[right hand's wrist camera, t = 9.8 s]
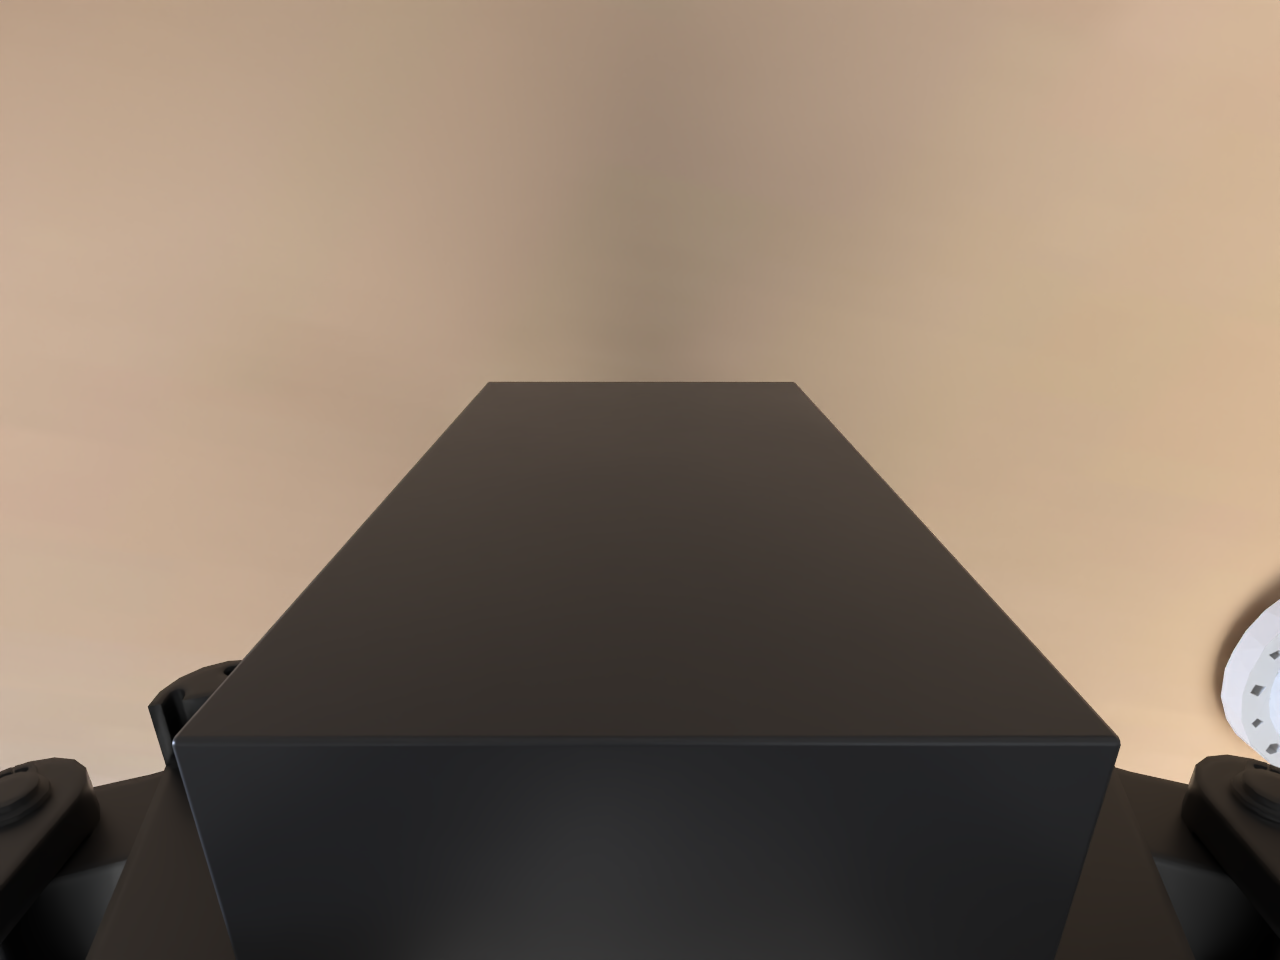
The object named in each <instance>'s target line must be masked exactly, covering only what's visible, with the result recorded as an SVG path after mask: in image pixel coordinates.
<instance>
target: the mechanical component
mask: <svg viewBox="0 0 1280 960" xmlns="http://www.w3.org/2000/svg"><path fill="white" fill-rule="evenodd" d="M1221 699H1222V703H1223V707H1224V711H1225V715H1226V719H1227V721H1228V722H1229V724H1230V726H1231V727H1232V729H1233V730H1234V732H1235V734H1236V735H1238V736H1239V737H1240V738H1241V739H1242V740H1243V741H1244V742H1246V743H1247V744H1248V745H1249V746H1250V747H1251V748H1253V749H1254V750H1255V751H1256V752H1257V753H1258V754H1260V755H1261V756H1262V757H1263V758H1264V759H1265V760H1267V761H1268V762H1269V763H1270V764H1271V765H1274V766H1276V767H1279V768H1280V599H1279V600H1278V601H1277V602H1275V603H1274V604H1273V605H1271V606H1270V607H1269V608H1267V609H1266V610H1265V611H1264V612H1263V613H1262V614H1261V615H1260V616H1259V617H1258V618H1257V619H1256V620H1255V622H1254V623H1253V624H1252V625H1251V626H1250V627H1249V628H1248V629H1247V630H1246V631H1245V633H1244V635H1243V636H1242V638H1241V639H1240V641H1239V643H1238V644H1237V646H1236V647H1235V649H1234V651H1233V653H1232V655H1231V657H1230V659H1229V661H1228V663H1227V665H1226V668H1225V672H1224V679H1223V686H1222V692H1221Z"/></svg>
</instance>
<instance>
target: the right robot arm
mask: <svg viewBox="0 0 1280 960" xmlns="http://www.w3.org/2000/svg"><path fill="white" fill-rule="evenodd" d="M241 661H242V660H237V661H227V662H223V663H219V664H215V665H211V666H207V667H203V668H201V669H199V670H197V671H194V672H192V673H190V674H188V675H185V676H183V677H181V678H179V679H178V680H176V681H175V682H173V683H172V684H170V685H169V686H167V687H166V688H165V689H163V690H162V691H160V692H159V694H158V695H157V696H156V697H155V698H154V700H153V701H152V702H151V703H150V705H149V706H148V709H149V712H150V715H151V718H152V722H153V725H154V728H155V731H156V735H157V738H158V741H159V744H160V747H161V751H162V754H163V757H164V760H165V764H166V767H165V770H164V771H161V772H158V773H154V774H151V775H146V776H142V777H137V778H133V779H128V780H124V781H119V782H115V783H110V784H106V785H101V786H97V787H93V786H92V783H91V780H90V778H89V775H88V772H87V769H86V767H84V766H83V765H81V764H80V763H79V762H77V761H76V760H74V759H64V758H49V759H43V760H37V761H31V762H27V763H24V764H20V765H17V766H15V767H11V768H8V769H6V770H3V771H1V772H0V960H236V958H235V955H234V951H233V948H232V945H231V941H230V938H229V935H228V931H227V928H226V925H225V921H224V918H223V915H222V911H221V908H220V905H219V901H218V898H217V894H216V891H215V888H214V884H213V881H212V878H211V874H210V871H209V868H208V864H207V861H206V858H205V854H204V851H203V848H202V844H201V841H200V837H199V834H198V831H197V827H196V824H195V821H194V817H193V814H192V811H191V807H190V804H189V801H188V797H187V794H186V791H185V787H184V784H183V780H182V777H181V774H180V770H179V767H178V764H177V760H176V757H175V754H174V750H173V747H172V742H173V739H174V737H175V736H176V735H177V733H178V732H179V731H180V730H181V729H182V728H183V727H184V725H185V724H186V723H187V722H188V721H189V720H190V719H191V718H192V716H193V715H194V714H195V713H196V712H197V711H198V710H199V709H200V707H201V706H202V705H203V704H204V703H205V702H206V701H207V699H208V698H209V697H210V696H211V695H212V694H213V693H214V692H215V690H216V689H217V688H218V687H219V686H220V685H221V684H222V683H223V681H224V680H225V679H226V678H227V677H228V676H229V675H230V674H231V672H232V671H233V670H234V669H235V668H236V667H237V666H238V664H239V663H240V662H241ZM1055 960H1280V768H1279V767H1276V766H1274V765H1271V764H1270V765H1269V764H1267V763H1265V762H1261V761H1258V760H1255V759H1250V758H1244V757H1238V756H1232V755H1219V756H1209V757H1206V758H1205V759H1203V760H1202V761H1200V762H1199V763H1198V764H1196V766H1195V768H1194V771H1193V774H1192V777H1191V779H1190V782H1189V785H1188V784H1184V783H1179V782H1174V781H1170V780H1165V779H1161V778H1156V777H1152V776H1147V775H1143V774H1138V773H1134V772H1129V771H1126V770H1122V769H1119V768H1115V766H1114V768H1113V772H1112V775H1111V778H1110V781H1109V785H1108V788H1107V791H1106V794H1105V798H1104V801H1103V804H1102V807H1101V811H1100V814H1099V817H1098V820H1097V823H1096V827H1095V830H1094V833H1093V836H1092V840H1091V843H1090V846H1089V849H1088V853H1087V856H1086V859H1085V862H1084V866H1083V869H1082V872H1081V875H1080V879H1079V882H1078V885H1077V888H1076V892H1075V895H1074V898H1073V901H1072V905H1071V908H1070V911H1069V914H1068V918H1067V921H1066V924H1065V927H1064V931H1063V934H1062V937H1061V940H1060V943H1059V947H1058V950H1057V953H1056V956H1055Z"/></svg>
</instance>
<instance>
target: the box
mask: <svg viewBox="0 0 1280 960" xmlns="http://www.w3.org/2000/svg"><path fill="white" fill-rule="evenodd" d="M1120 746H1121V744H1120V740H1119V737H1118V736H1117V735H1116V734H1115V733H1114V731H1113V730H1112V729H1111V728H1110V727H1109V726H1108V725H1107V724H1106V723H1105V722H1104V721H1103V719H1102V718H1101V717H1100V716H1099V715H1098V714H1097V713H1096V712H1095V711H1094V710H1093V708H1092V707H1091V706H1090V705H1089V704H1088V703H1087V702H1086V701H1085V700H1084V699H1083V698H1082V696H1081V695H1080V694H1079V693H1078V692H1077V691H1076V690H1075V689H1074V688H1073V687H1072V686H1071V684H1070V683H1069V682H1068V681H1067V680H1066V679H1065V678H1064V677H1063V676H1062V675H1061V673H1060V672H1059V671H1058V670H1057V669H1056V668H1055V667H1054V666H1053V665H1052V664H1051V663H1050V661H1049V660H1048V659H1047V658H1046V657H1045V656H1044V655H1043V654H1042V653H1041V652H1040V650H1039V649H1038V648H1037V647H1036V646H1035V645H1034V644H1033V643H1032V642H1031V641H1030V640H1029V638H1028V637H1027V636H1026V635H1025V634H1024V633H1023V632H1022V631H1021V630H1020V629H1019V627H1018V626H1017V625H1016V624H1015V623H1014V622H1013V621H1012V620H1011V619H1010V618H1009V617H1008V615H1007V614H1006V613H1005V612H1004V611H1003V610H1002V609H1001V608H1000V607H999V606H998V605H997V603H996V602H995V601H994V600H993V599H992V598H991V597H990V596H989V595H988V594H987V592H986V591H985V590H984V589H983V588H982V587H981V586H980V585H979V584H978V583H977V582H976V580H975V579H974V578H973V577H972V576H971V575H970V574H969V573H968V572H967V571H966V569H965V568H964V567H963V566H962V565H961V564H960V563H959V562H958V561H957V560H956V559H955V557H954V556H953V555H952V554H951V553H950V552H949V551H948V550H947V549H946V548H945V546H944V545H943V544H942V543H941V542H940V541H939V540H938V539H937V538H936V537H935V536H934V534H933V533H932V532H931V531H930V530H929V529H928V528H927V527H926V526H925V525H924V524H923V522H922V521H921V520H920V519H919V518H918V517H917V516H916V515H915V514H914V513H913V511H912V510H911V509H910V508H909V507H908V506H907V505H906V504H905V503H904V502H903V501H902V499H901V498H900V497H899V496H898V495H897V494H896V493H895V492H894V491H893V490H892V488H891V487H890V486H889V485H888V484H887V483H886V482H885V481H884V480H883V479H882V478H881V476H880V475H879V474H878V473H877V472H876V471H875V470H874V469H873V468H872V467H871V465H870V464H869V463H868V462H867V461H866V460H865V459H864V458H863V457H862V456H861V455H860V453H859V452H858V451H857V450H856V449H855V448H854V447H853V446H852V445H851V444H850V443H849V441H848V440H847V439H846V438H845V437H844V436H843V435H842V434H841V433H840V432H839V430H838V429H837V428H836V427H835V426H834V425H833V424H832V423H831V422H830V421H829V420H828V418H827V417H826V416H825V415H824V414H823V413H822V412H821V411H820V410H819V409H818V407H817V406H816V405H815V404H814V403H813V402H812V401H811V400H810V399H809V398H808V397H807V395H806V394H805V393H804V392H803V391H802V390H801V389H800V388H799V387H798V386H797V384H796V383H794V382H489V383H487V384H486V386H485V387H484V388H483V389H482V390H481V391H480V392H479V393H478V395H477V396H476V397H475V398H474V399H473V400H472V401H471V403H470V404H469V405H468V406H467V407H466V408H465V409H464V410H463V412H462V413H461V414H460V415H459V416H458V417H457V418H456V419H455V421H454V422H453V423H452V424H451V425H450V426H449V427H448V428H447V430H446V431H445V432H444V433H443V434H442V435H441V436H440V438H439V439H438V440H437V441H436V442H435V443H434V444H433V445H432V447H431V448H430V449H429V450H428V451H427V452H426V453H425V454H424V456H423V457H422V458H421V459H420V460H419V461H418V462H417V463H416V465H415V466H414V467H413V468H412V469H411V470H410V471H409V473H408V474H407V475H406V476H405V477H404V478H403V479H402V480H401V482H400V483H399V484H398V485H397V486H396V487H395V488H394V489H393V491H392V492H391V493H390V494H389V495H388V496H387V497H386V498H385V500H384V501H383V502H382V503H381V504H380V505H379V506H378V508H377V509H376V510H375V511H374V512H373V513H372V514H371V515H370V517H369V518H368V519H367V520H366V521H365V522H364V523H363V524H362V526H361V527H360V528H359V529H358V530H357V531H356V532H355V534H354V535H353V536H352V537H351V538H350V539H349V540H348V541H347V543H346V544H345V545H344V546H343V547H342V548H341V549H340V550H339V552H338V553H337V554H336V555H335V556H334V557H333V558H332V559H331V561H330V562H329V563H328V564H327V565H326V566H325V567H324V569H323V570H322V571H321V572H320V573H319V574H318V575H317V576H316V578H315V579H314V580H313V581H312V582H311V583H310V584H309V585H308V587H307V588H306V589H305V590H304V591H303V592H302V593H301V594H300V596H299V597H298V598H297V599H296V600H295V601H294V602H293V604H292V605H291V606H290V607H289V608H288V609H287V610H286V611H285V613H284V614H283V615H282V616H281V617H280V618H279V619H278V620H277V622H276V623H275V624H274V625H273V626H272V627H271V628H270V629H269V631H268V632H267V633H266V634H265V635H264V636H263V637H262V639H261V640H260V641H259V642H258V643H257V644H256V645H255V646H254V648H253V649H252V650H251V651H250V652H249V653H248V654H247V655H246V657H245V658H244V659H243V660H242V661H241V662H240V663H239V664H238V666H237V667H236V668H235V669H234V670H233V671H232V672H231V674H230V675H229V676H228V677H227V678H226V679H225V680H224V681H223V683H222V684H221V685H220V686H219V687H218V688H217V689H216V690H215V692H214V693H213V694H212V695H211V696H210V697H209V698H208V699H207V701H206V702H205V703H204V704H203V705H202V706H201V707H200V709H199V710H198V711H197V712H196V713H195V714H194V715H193V716H192V718H191V719H190V720H189V721H188V722H187V723H186V724H185V725H184V727H183V728H182V729H181V730H180V731H179V732H178V733H177V735H176V736H175V737H174V739H173V742H172V747H173V750H174V754H175V757H176V760H177V764H178V767H179V770H180V774H181V777H182V780H183V784H184V787H185V791H186V794H187V797H188V801H189V804H190V807H191V811H192V814H193V817H194V821H195V824H196V827H197V831H198V834H199V837H200V841H201V844H202V848H203V851H204V854H205V858H206V861H207V864H208V868H209V871H210V874H211V878H212V881H213V884H214V888H215V891H216V894H217V898H218V901H219V905H220V908H221V911H222V915H223V918H224V921H225V925H226V928H227V931H228V935H229V938H230V941H231V945H232V948H233V951H234V955H235V958H236V960H1055V956H1056V953H1057V950H1058V947H1059V943H1060V940H1061V937H1062V934H1063V931H1064V927H1065V924H1066V921H1067V918H1068V914H1069V911H1070V908H1071V905H1072V901H1073V898H1074V895H1075V892H1076V888H1077V885H1078V882H1079V879H1080V875H1081V872H1082V869H1083V866H1084V862H1085V859H1086V856H1087V853H1088V849H1089V846H1090V843H1091V840H1092V836H1093V833H1094V830H1095V827H1096V823H1097V820H1098V817H1099V814H1100V811H1101V807H1102V804H1103V801H1104V798H1105V794H1106V791H1107V788H1108V785H1109V781H1110V778H1111V775H1112V772H1113V768H1114V765H1115V762H1116V759H1117V755H1118V752H1119V749H1120Z"/></svg>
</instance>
